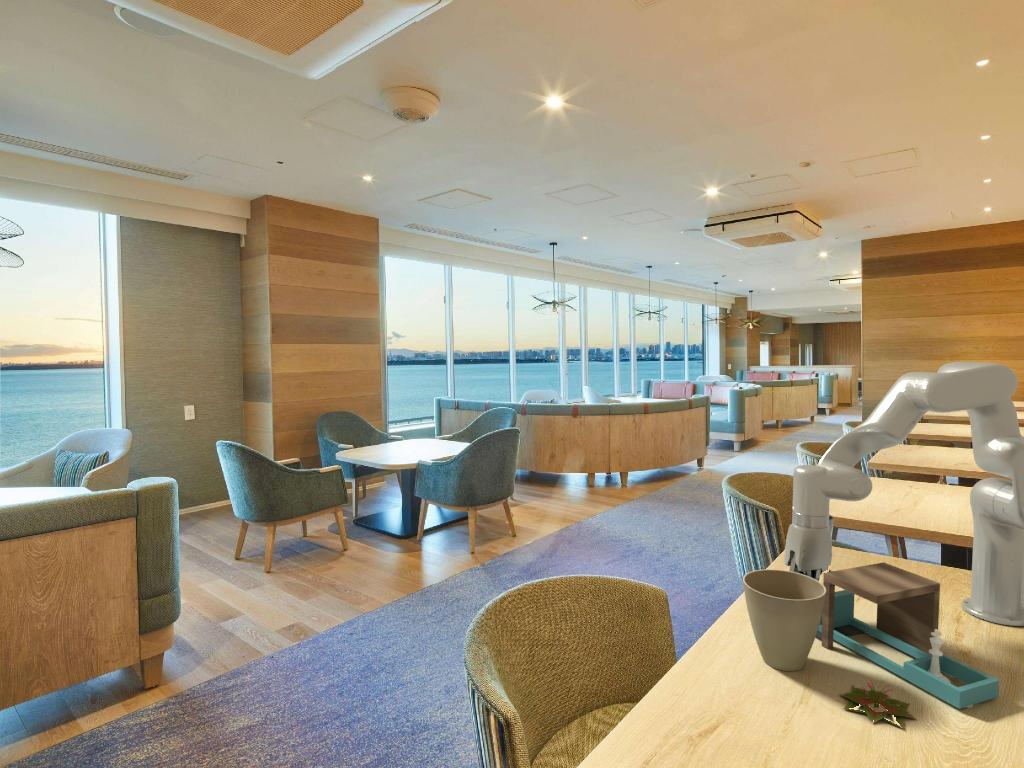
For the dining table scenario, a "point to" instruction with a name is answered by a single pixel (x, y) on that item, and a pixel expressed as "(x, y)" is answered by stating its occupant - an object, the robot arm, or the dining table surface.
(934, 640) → the chess piece
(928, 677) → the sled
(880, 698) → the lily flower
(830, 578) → the tunnel
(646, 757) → the dining table surface
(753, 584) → the plant pot
